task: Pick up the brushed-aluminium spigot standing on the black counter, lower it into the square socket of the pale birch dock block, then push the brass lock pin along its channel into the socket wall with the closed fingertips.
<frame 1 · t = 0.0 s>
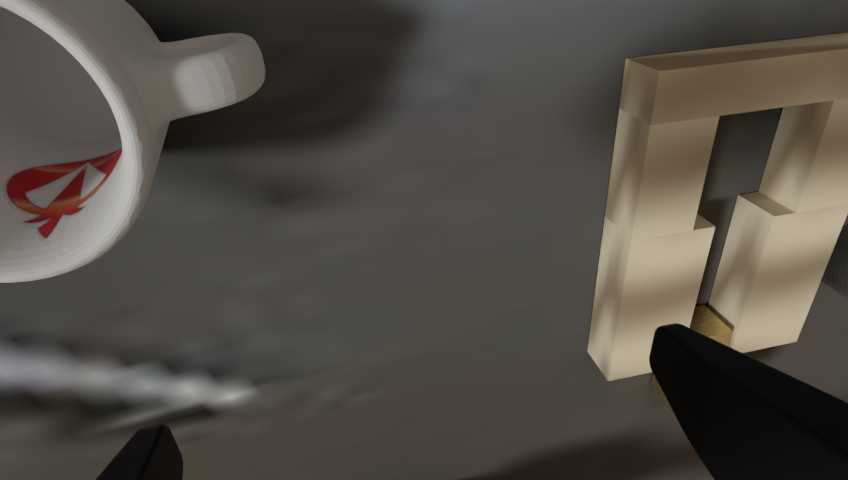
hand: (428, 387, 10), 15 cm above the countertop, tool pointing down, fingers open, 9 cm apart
cup: (121, 59, 19), on the countertop
dock: (706, 219, 28), on the countertop
spigot: (841, 252, 32), on the countertop
lock pin: (708, 381, 30), point 3 cm above the countertop, slide at 0.0 cm
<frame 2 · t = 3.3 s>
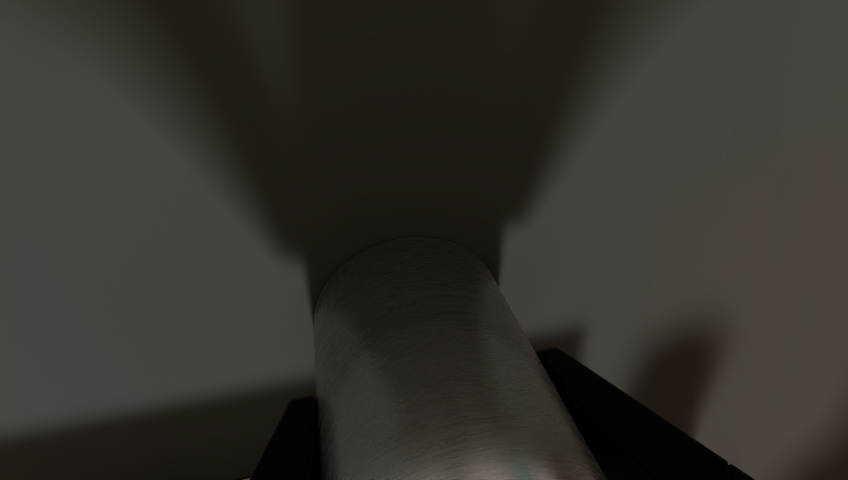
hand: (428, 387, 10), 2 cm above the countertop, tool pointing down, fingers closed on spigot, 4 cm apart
spigot: (408, 317, 11), on the countertop, touching gripper
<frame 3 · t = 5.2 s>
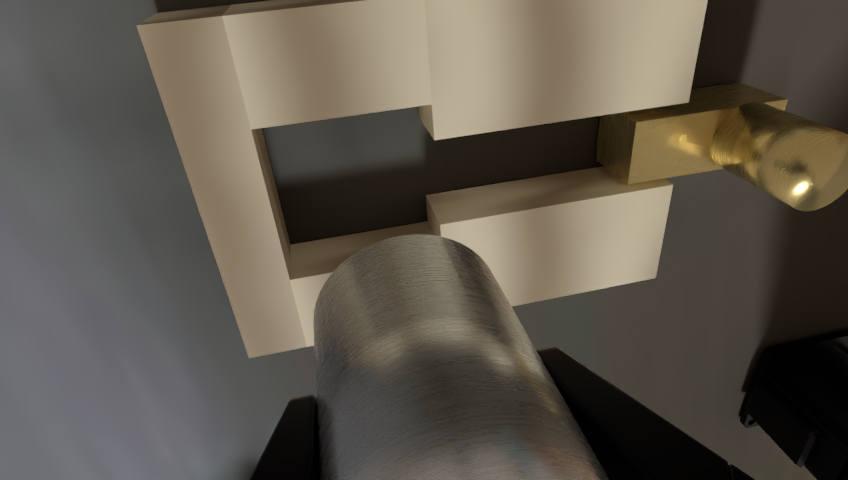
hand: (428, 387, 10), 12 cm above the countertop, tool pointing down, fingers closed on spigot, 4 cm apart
dock: (452, 153, 20), on the countertop
spigot: (408, 315, 11), point 10 cm above the countertop, touching gripper
lock pin: (716, 147, 19), point 3 cm above the countertop, slide at 0.0 cm
when the fingers open (3 cm above the countertop, at t = 7.1 s): spigot drops 1 cm, resting in dock.
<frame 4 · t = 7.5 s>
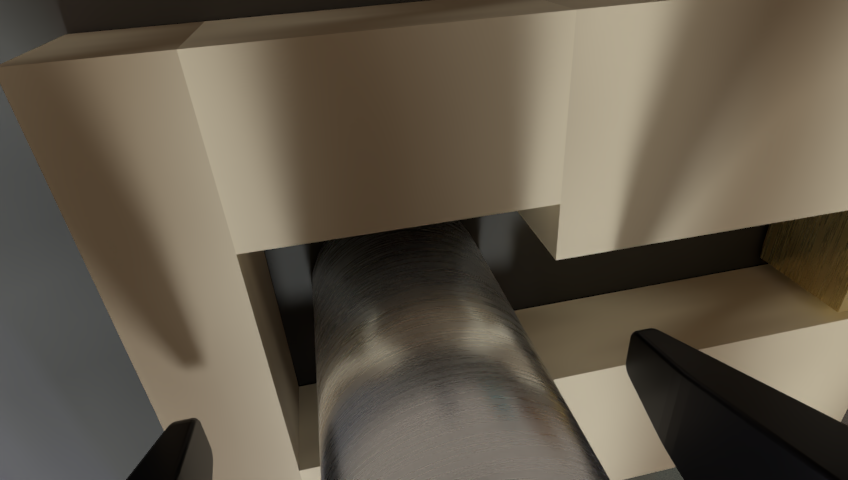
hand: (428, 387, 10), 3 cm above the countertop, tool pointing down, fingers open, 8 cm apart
dock: (555, 253, 13), on the countertop
spigot: (398, 278, 13), resting in dock
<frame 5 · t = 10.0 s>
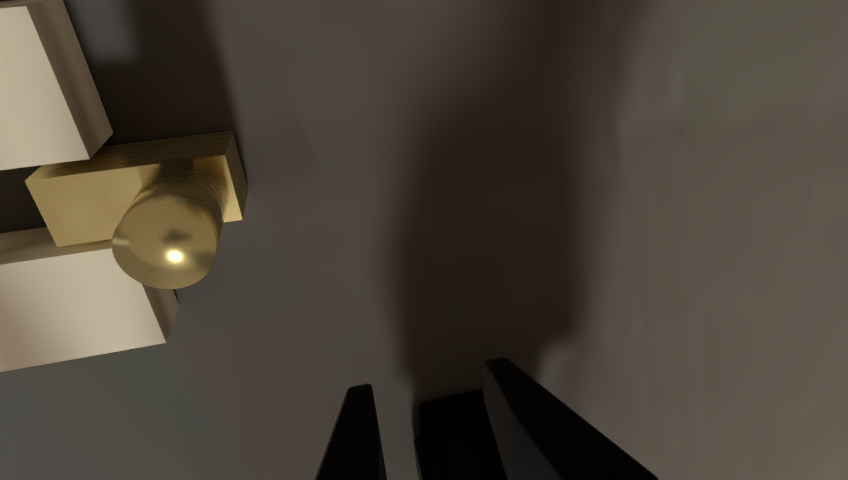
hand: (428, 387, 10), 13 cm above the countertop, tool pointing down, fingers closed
lock pin: (135, 208, 17), point 3 cm above the countertop, slide at 0.0 cm
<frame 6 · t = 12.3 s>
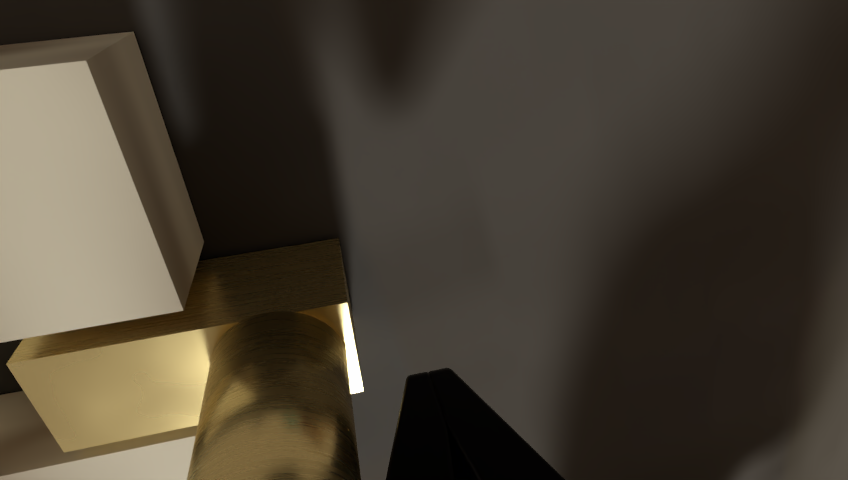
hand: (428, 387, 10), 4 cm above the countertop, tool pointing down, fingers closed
lock pin: (198, 400, 10), point 3 cm above the countertop, slide at 1.1 cm, touching gripper
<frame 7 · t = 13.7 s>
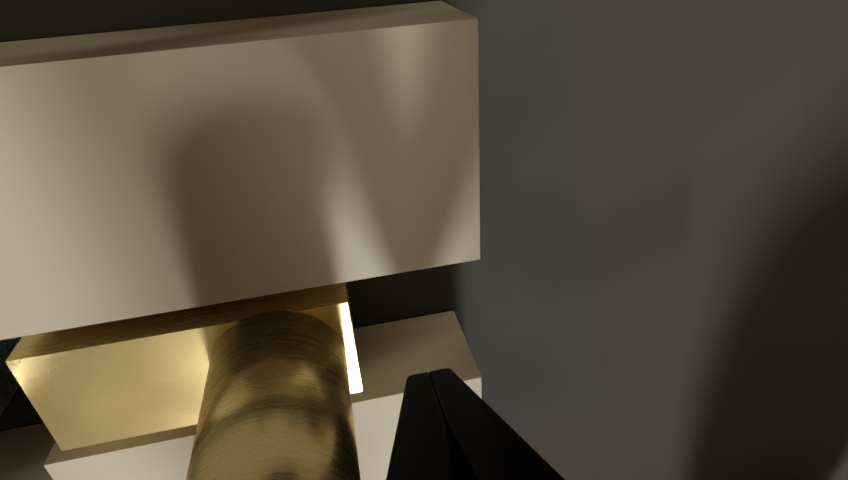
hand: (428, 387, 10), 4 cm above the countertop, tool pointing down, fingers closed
dock: (114, 316, 12), on the countertop
lock pin: (197, 399, 10), point 3 cm above the countertop, slide at 6.7 cm, touching gripper
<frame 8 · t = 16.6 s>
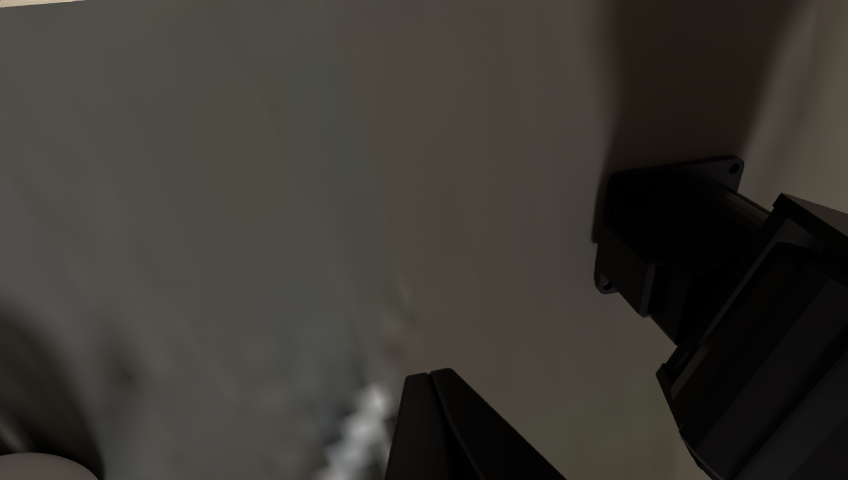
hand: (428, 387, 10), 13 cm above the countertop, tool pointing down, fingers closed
cup: (24, 465, 25), on the countertop
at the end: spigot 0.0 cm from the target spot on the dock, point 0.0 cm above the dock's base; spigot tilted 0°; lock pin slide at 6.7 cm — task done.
